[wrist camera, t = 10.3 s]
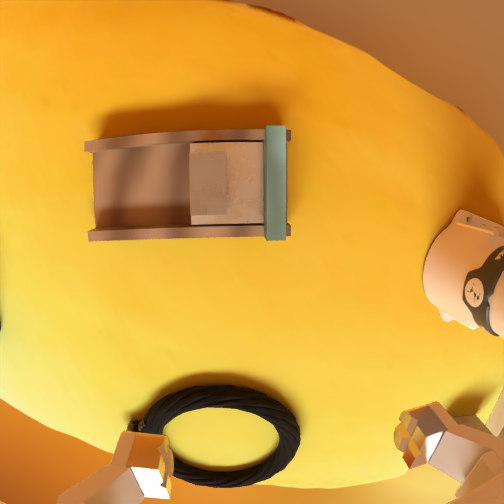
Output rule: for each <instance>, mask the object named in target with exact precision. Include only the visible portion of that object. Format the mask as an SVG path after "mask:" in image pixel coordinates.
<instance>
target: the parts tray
mask: <svg viewBox="0 0 504 504" xmlns="http://www.w3.org/2000/svg"><path fill="white" fill-rule="evenodd" d="M485 426H486V427H487V428H488V429H489V430H490V431H491V433H492V434H493V435H494V436H497V437H500V438H503V439H504V388H503V390H502V392H501V395H500V397H499V399H498V401H497V403H496V405H495V407H494V409H493V411H492V413H491V415H490V417H489V419H488V421H487V423H486V425H485Z"/></svg>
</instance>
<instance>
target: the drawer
mask: <svg viewBox="0 0 504 504" xmlns="http://www.w3.org/2000/svg"><path fill="white" fill-rule="evenodd" d="M289 141H291V130H286V126H275V125H266V127H265V128H264V129H216V130H191V131H174V132H161V133H149V134H139V135H130V136H121V137H113V138H106V139H98V140H92V141H85V152H91V153H93V188H94V209H95V224H96V228H95V229H93V230H90V231H88V239H89V241H110V240H138V239H170V238H208V237H253V236H264V237H265V238H266V240H267V241H269V240H286V236H291V225H290V224H288V223H287V142H289ZM219 142H263V157H264V223H242V224H199V225H191V216H190V177H189V153H190V144H192V143H219Z"/></svg>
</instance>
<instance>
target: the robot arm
mask: <svg viewBox="0 0 504 504" xmlns="http://www.w3.org/2000/svg"><path fill="white" fill-rule="evenodd" d="M466 219H467V220H466ZM423 284H424V290H425V293H426V296H427V298H428V299H429V301H430V302H431V303H432V304H433V305H434V306H435V307H436V308H437V309H438V310H439V313H440V316H441V318H442V320H444V321H446V322H450V321H452V320H456V321H458V322H460V323H461V324H463V325H465V326H467V327H469V328H471V329H476V328H479V327H481V328H482V329H483V330H484V331H486V332H488V333H491V334H492V335H494V336H501V337H502V338H504V226H502V225H499V224H497V223H495V222H492V221H490V220H487V219H485V218H483V217H480V216H478V215H475V214H473V213H470V212H468V211H465V210H462V209H460V210H459V211H458V212H457V213H456V215H455V216H454V218H453V220H452V222H451V224H450V225H449V226H448V227H447V228H446V229H445V230H443V231H442V232H441V233H440V234H439V235H438V237H437V238H436V239H435V241H434V242H433V244H432V246H431V248H430V250H429V252H428V255H427V258H426V261H425V265H424V272H423ZM399 420H400V421H401V423H400V424H399V425H398V426H397V427H396V428H395V431H394V442H395V445H396V447H397V449H398V450H400V451H402V452H404V453H403V459H404V461H405V462H406V464H407V466H408V467H409V469H411V468H414V467H417V466H420V465H422V464H425V463H428V462H429V463H428V464H430V465H431V466H433V467H435V468H437V469H438V470H440V471H441V472H443V473H445V474H447V475H448V476H450V477H452V478H454V479H455V480H457V481H459V482H461V483H462V484H461V485H460V487H459V488H458V489H457V491H456V493H455V495H456V497H457V499H455V500H453V501H451V502H449V503H447V504H504V439H503V438H500V437H497V436H494V435H491V434H488V433H485V432H482V431H479V430H476V429H474V428H471V427H468V426H465V425H463V424H460V425H458V424H457V423H456V421H455V420H454V419H453V418H452V417H451V416H450V414H449V413H448V412H447V411H446V410H445V409H444V408H443V406H442V405H441V404H440V403H439V402H437V401H435V402H432V403H429V404H426V405H423V406H419V407H416V408H413V409H409V410H406V411H403V412H402V413H401V415H400V418H399ZM173 470H174V458H173V453H172V450H171V449H169V439H168V436H166V435H158V434H148V433H140V432H131V431H123V432H122V433H121V435H120V438H119V441H118V443H117V446H116V449H115V452H114V455H113V458H112V461H111V463H110V464H105V465H104V466H102V467H101V468H99V469H98V470H96V471H95V472H93V473H92V474H91V475H89V476H87V477H86V478H84V479H83V480H82V481H80V482H78V483H77V484H75V485H74V486H72V487H71V488H69V489H68V490H66V491H64V492H63V493H61V494H60V495H59V496H58V499H57V501H56V503H55V504H140V503H141V502H142V501H143V500H144V499H145V497H153V498H166V499H170V492H171V485H172V484H171V481H170V478H169V477H171V476H172V475H173ZM0 504H6V503H4V502H2V501H0Z"/></svg>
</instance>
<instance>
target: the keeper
mask: <svg viewBox="0 0 504 504" xmlns="http://www.w3.org/2000/svg"><path fill="white" fill-rule="evenodd" d="M189 177H190V216H191V225H199V224H242V223H264V157H263V142H219V143H192V144H190V153H189Z"/></svg>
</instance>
